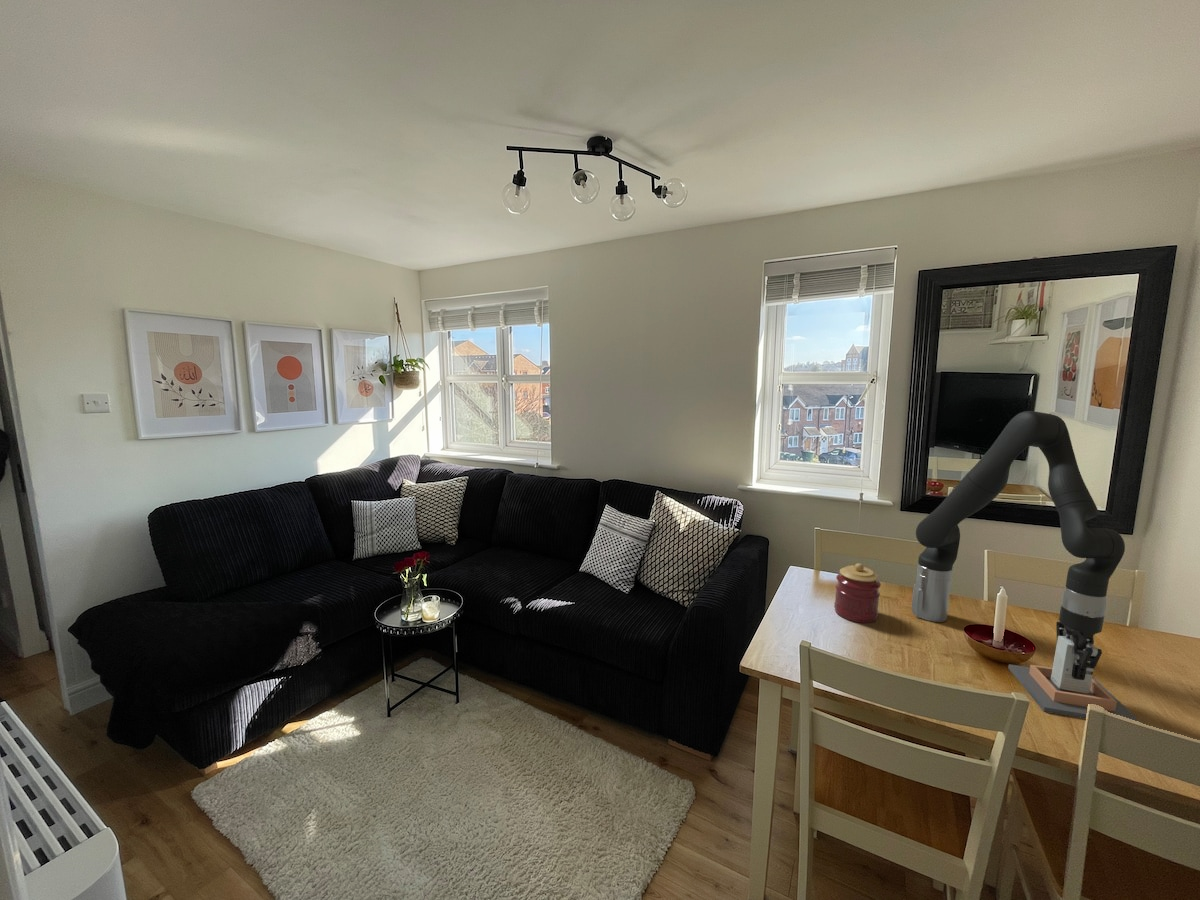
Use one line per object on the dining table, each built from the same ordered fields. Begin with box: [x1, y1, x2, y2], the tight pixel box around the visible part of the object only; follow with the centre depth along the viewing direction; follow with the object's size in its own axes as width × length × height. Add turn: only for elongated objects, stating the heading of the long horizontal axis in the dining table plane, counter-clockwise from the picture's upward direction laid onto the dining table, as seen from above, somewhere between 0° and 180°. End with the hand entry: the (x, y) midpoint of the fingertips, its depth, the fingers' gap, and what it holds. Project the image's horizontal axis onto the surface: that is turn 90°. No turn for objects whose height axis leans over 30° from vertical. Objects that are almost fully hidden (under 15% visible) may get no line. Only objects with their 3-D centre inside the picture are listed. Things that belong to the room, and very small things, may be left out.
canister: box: [833, 562, 881, 624], centre depth 162 cm, size 13×13×18 cm
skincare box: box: [1051, 636, 1098, 693], centre depth 120 cm, size 6×4×12 cm
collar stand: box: [1007, 663, 1142, 722], centre depth 121 cm, size 18×18×4 cm
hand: (1072, 672), depth 121 cm, fingers closed on skincare box, 4 cm apart
